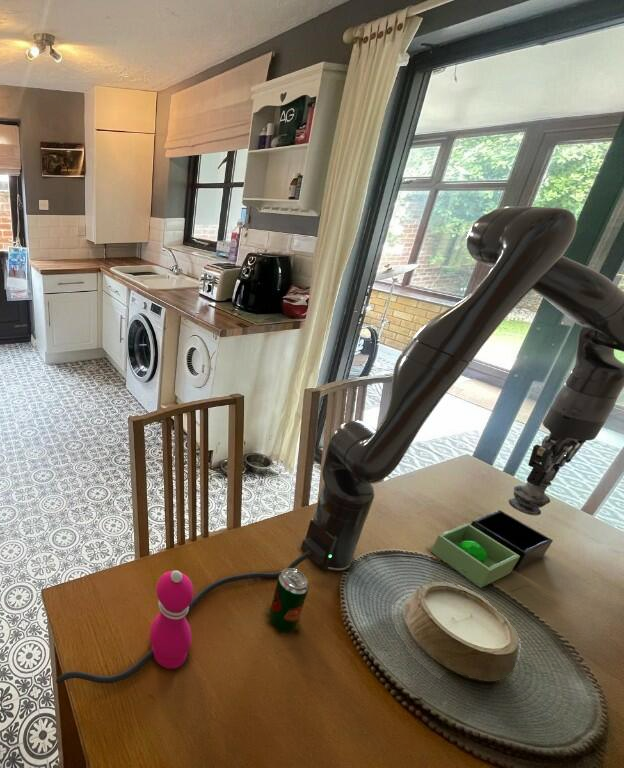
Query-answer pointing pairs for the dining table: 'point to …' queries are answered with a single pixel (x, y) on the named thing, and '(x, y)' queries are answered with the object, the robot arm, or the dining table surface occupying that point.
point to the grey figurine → (531, 496)
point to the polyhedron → (474, 550)
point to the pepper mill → (172, 620)
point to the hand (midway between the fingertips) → (539, 480)
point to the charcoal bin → (514, 536)
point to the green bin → (479, 573)
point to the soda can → (288, 600)
